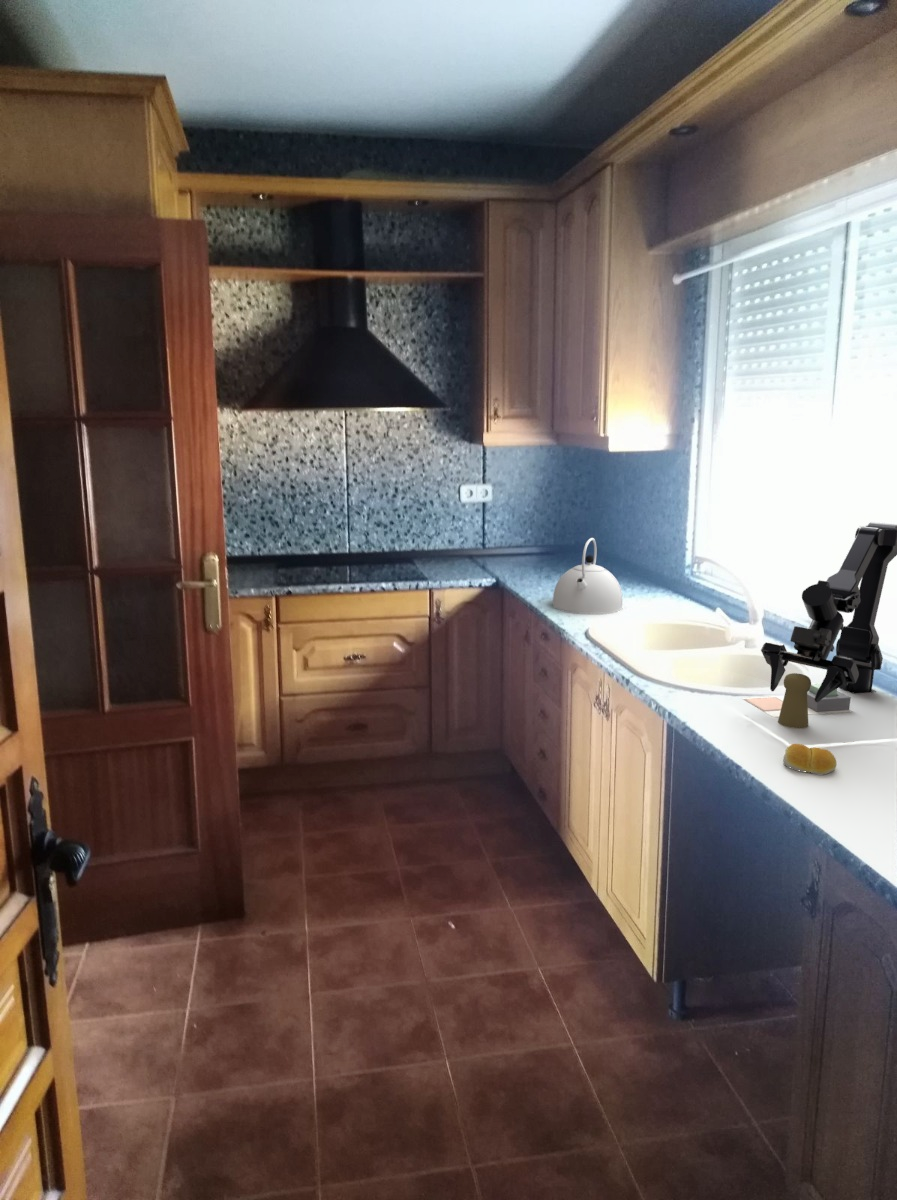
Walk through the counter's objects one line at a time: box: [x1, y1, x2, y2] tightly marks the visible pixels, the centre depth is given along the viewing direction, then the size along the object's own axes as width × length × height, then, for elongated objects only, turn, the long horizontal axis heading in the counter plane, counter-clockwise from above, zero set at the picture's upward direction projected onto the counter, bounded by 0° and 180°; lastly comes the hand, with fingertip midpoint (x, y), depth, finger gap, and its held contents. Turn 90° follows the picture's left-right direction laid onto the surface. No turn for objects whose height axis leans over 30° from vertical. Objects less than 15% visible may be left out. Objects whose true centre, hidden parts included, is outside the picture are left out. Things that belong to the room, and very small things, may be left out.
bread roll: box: [782, 743, 837, 775], centre depth 160 cm, size 8×9×4 cm
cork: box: [777, 672, 812, 729], centre depth 180 cm, size 6×6×11 cm
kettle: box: [552, 537, 623, 615], centre depth 283 cm, size 25×23×22 cm
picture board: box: [743, 690, 853, 718], centre depth 192 cm, size 19×12×3 cm, turn 103°
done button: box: [809, 683, 838, 696], centre depth 191 cm, size 4×4×2 cm
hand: (793, 695), depth 178 cm, fingers open, 9 cm apart
